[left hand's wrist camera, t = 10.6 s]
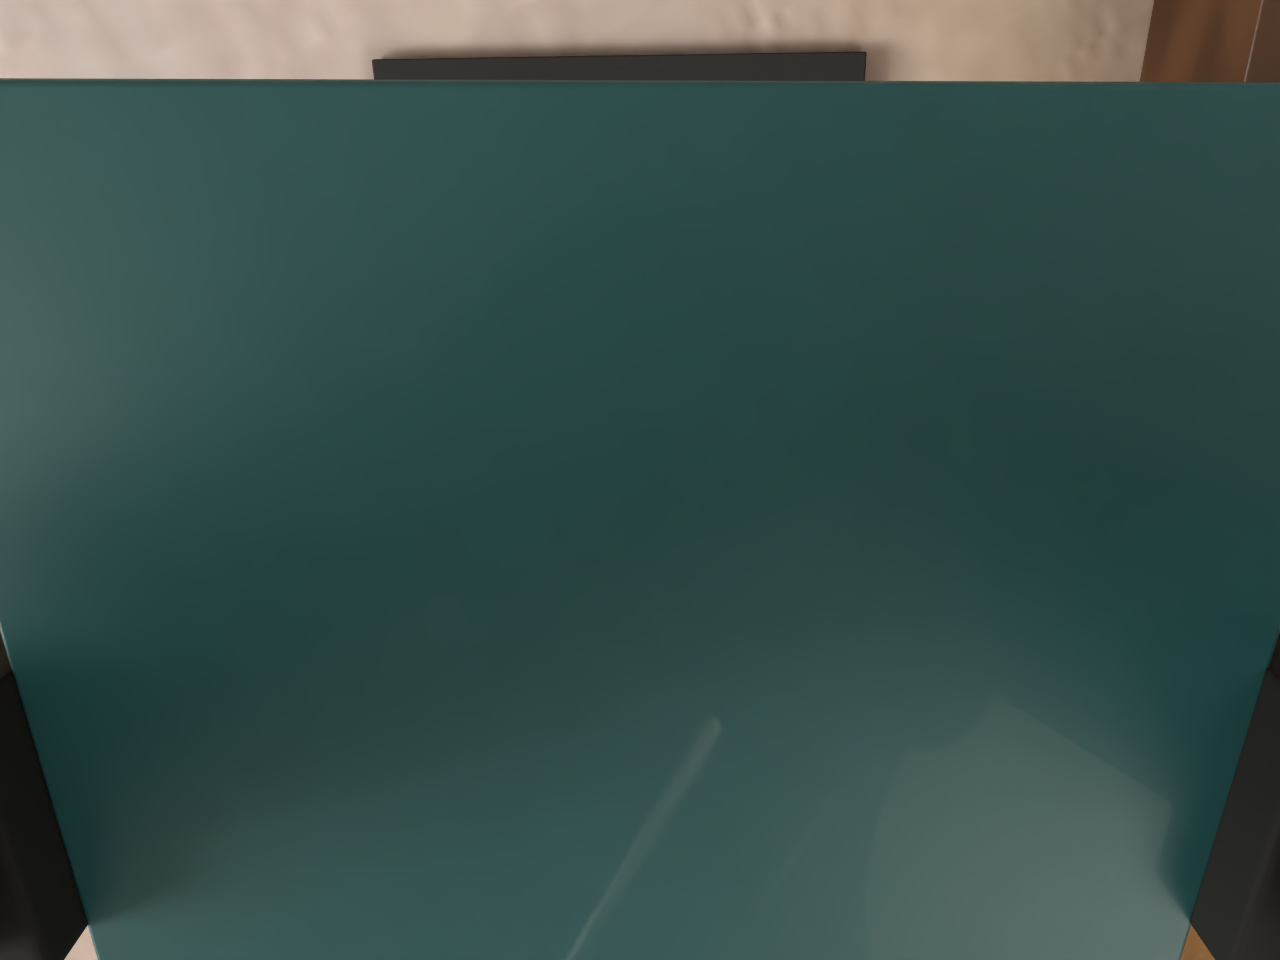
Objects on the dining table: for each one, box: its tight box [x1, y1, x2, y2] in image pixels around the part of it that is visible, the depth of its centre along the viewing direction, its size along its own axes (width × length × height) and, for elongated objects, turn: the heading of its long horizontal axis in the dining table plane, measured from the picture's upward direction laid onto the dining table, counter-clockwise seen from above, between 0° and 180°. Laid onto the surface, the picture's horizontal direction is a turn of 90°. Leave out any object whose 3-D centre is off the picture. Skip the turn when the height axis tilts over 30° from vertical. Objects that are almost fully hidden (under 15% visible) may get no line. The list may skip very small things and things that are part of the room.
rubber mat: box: [372, 52, 866, 81], centre depth 28 cm, size 14×14×1 cm
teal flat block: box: [0, 79, 1280, 960], centre depth 10 cm, size 11×10×5 cm
